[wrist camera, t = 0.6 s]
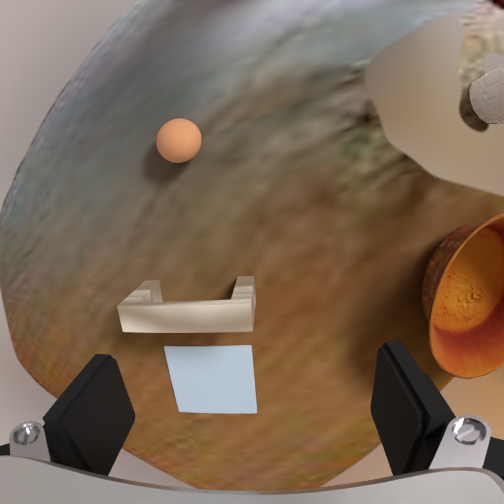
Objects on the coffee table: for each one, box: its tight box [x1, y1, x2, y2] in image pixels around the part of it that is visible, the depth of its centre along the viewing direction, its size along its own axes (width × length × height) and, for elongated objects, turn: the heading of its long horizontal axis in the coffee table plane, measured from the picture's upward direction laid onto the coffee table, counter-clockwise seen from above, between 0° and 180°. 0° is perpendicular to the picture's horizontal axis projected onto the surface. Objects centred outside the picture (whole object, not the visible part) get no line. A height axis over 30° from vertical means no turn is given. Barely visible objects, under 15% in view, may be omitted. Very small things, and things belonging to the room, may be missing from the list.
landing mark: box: [164, 345, 257, 413], centre depth 43 cm, size 12×12×1 cm
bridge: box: [117, 276, 256, 333], centre depth 36 cm, size 3×14×9 cm, turn 94°
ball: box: [156, 118, 201, 163], centre depth 34 cm, size 5×5×5 cm
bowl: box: [422, 213, 504, 379], centre depth 33 cm, size 21×21×10 cm
